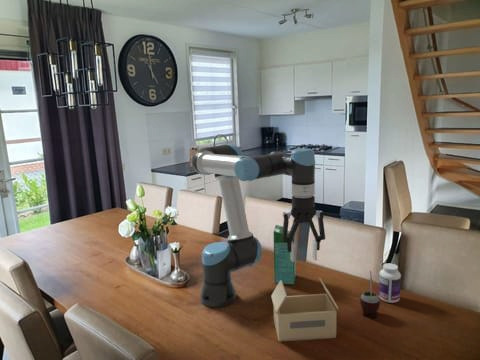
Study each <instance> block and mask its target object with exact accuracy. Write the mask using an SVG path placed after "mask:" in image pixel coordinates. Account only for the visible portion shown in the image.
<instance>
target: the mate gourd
mask: <svg viewBox="0 0 480 360" xmlns="http://www.w3.org/2000/svg"><path fill="white" fill-rule="evenodd" d="M372 275H373V274H372V271H371V270H370V271H369V277H370V278H369V282H370V283H369V285H370V287H369V288H370V291H365V292H363V293H362V294H361V295H360V299H359V300H360V302H359V303H360V307H361V309H362V313H363V314H362V317H366V316H371V317H372V318H373V319H376V318H377V316H376V315H377V312H378V310H379V309H380V305H381V300H380V297H379V294H377V293H375V292H373V277H372Z"/></svg>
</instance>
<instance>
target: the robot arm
mask: <svg viewBox="0 0 480 360" xmlns="http://www.w3.org/2000/svg"><path fill="white" fill-rule="evenodd" d="M315 156H316V155H315V151H314V150H313V149H312V148H305V147H304V148H302V147H301V148H294V149H292V150H291V152H290V153H288V152H283V151H271V152H270V153H269V154H264V155H258V156H257V155H256V156H247V155H243V152H242V150H241V148H240V147H238V146H237V145H235V144H222V145H215V146H207V147H202V148H200V149H198V150H196V151H195V152H194V154H193V155H192V157H191V161H190V163H191V167H192V169H193V170H194V171H195V172H196V173H197V174H200V175H204V176H208V175H212V174H213V175H214V178H215V179H216V180H217V181H218V182H219V187H220V191H221V197H222V198H221V199H222V202H223V206H224V207H223V208H224V213H225V217H226V223H227V228H228V233H229V235H228V237H227V238H226V240H227V242H226V241H215V242H211V243H209V244H208V245H206V246H205V247H204V248H203V250H202V252H201V265H202V277H203V283H202V287H201V290H200V294H199V295H200V302H201V304H203V305H204V306H205V307H210V308H216V309H218V308H223V307H228V306H230V305H232V304H233V303H234V302H235V301H236V299H237V292H236V289H235V286H234V284H233V281H232V273H233V272H236V271H239V270H242V269H245V268H249V267H251V266H253V265H255V264H257V263H259V261H260V260H261V258H262V253H263V251H262V250H263V249H262V245H261V243H260V240H259V239H258V238H257V237H255V236H254V233H252V232H251V231H250V228H249V225H248V219H247V214H246V209H245V203H244V200H243V199H244V198H243V195H242V194H243V193H242V189H241V185H240V181H241V182H251V181H254V180H260V179H265V178H270V177H275V176H280V175H284V176H289V177H291V210H290V211H288V212H285V211H283V212H282V217H283V222H282V223H283V225H282V227H283V231H282V240H283V242H287V250H288V252H290V259H291V261H292V262H294V243H293V241H292V240H293V238H294V235H295V236H296V232H297V229H298V227H299V226H300V224H302V223H307V224H308V225H309V227H310V229H311V233H312V235H313V237H314V239H312V258H313V261H317V260H318V251H320V249H321V245H320V244H321V242H322V241H324V240H326V232H325V224H324V223H325V222H324V215H325V212H323V211H322V210H321V209H319V210H316V208H315V207H316V204H315V203H316V202H315V201H316V200H315V199H316V198H315V197H316V196H314V195H315V194H316V193H315V191H316V190H315V188H316V187H315V186H316V184H315V183H316V181H315V180H316V178H315V176H316V175H315V174H316V173H315V170H316V158H315ZM315 215H316V217H317V223H318V231H317V229H316V226H315V223H314V221H313V218H314V217H315ZM291 216H292V218H293V221H292V222H293V223H292V225H291V230H290V232H289V235H288V238H287V232H288V228H289V223H290V222H289V221H290V219H291ZM318 232H319V234H318Z"/></svg>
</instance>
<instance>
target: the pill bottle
mask: <svg viewBox="0 0 480 360" xmlns="http://www.w3.org/2000/svg"><path fill="white" fill-rule="evenodd" d="M401 281H402V274H401V273H400V271H399V267H398V265H397V264H394V263H390V262H389V263H384V264H383V266H382V269H381V270H380V271H379V281H378V282H379V283H378V297H379V300H380V299H381V300H382V301H383V302H385V303H391V304H394V303H397V302H399V301H400V300H401V285H402V283H401ZM381 300H380V301H381Z"/></svg>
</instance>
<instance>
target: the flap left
mask: <svg viewBox="0 0 480 360" xmlns="http://www.w3.org/2000/svg"><path fill="white" fill-rule="evenodd" d="M287 294H288V293H287V291H286V289H285V286H284V284H283V283H282V280H280V282H279V283H277V285H276V287H275V289H274V290H273V292H272V293H271V295H270V297H271V300H272V301H271V302H272V305H273V310H274V309H275V313H277V312H278V310H279V309H280V307H281V305H282V303H283V302H284V300H285V298H286V297H287V296H288V295H287Z"/></svg>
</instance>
